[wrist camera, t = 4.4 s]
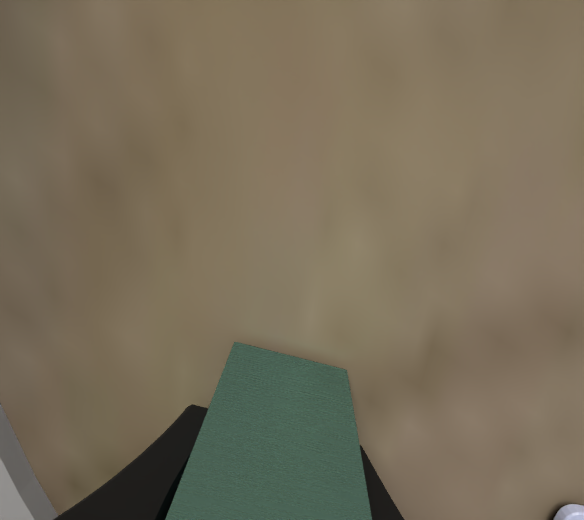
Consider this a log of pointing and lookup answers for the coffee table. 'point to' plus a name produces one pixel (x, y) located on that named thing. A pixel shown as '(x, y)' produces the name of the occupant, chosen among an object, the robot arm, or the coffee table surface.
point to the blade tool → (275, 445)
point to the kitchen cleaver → (19, 481)
